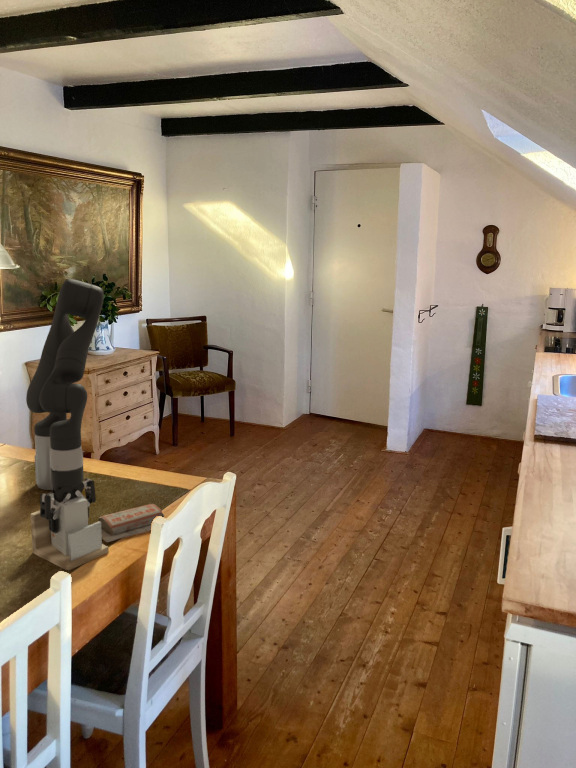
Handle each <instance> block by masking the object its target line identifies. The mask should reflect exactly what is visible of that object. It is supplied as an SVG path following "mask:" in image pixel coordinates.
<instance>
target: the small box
mask: <svg viewBox="0 0 576 768" xmlns="http://www.w3.org/2000/svg"><path fill="white" fill-rule="evenodd" d="M85 498H86V497H85ZM85 498H83V497H80V498H74V499H71V500H68V501H67V502H66V503H63V504H61V511H60V513H59V515H58V517H57V519H58V528H59V532H58V533H56V534H55V533H53V532H51V540H52V545H53V546H54V547H55V548H56V549H58V550H59V551H60V552H62V553H63V554H64V555H65V556H68V555H69V547H68V534H69V533H71V532H74V531H76V530H79V529H81V528H84V527H86V526H88V525H89V518H88V503H87V500H86V499H85ZM53 499H54V498H52V501H53ZM51 503H52V502H51ZM55 504H56V506H59V505H60V503H59V502H57V501H55ZM54 512H55V511H54Z"/></svg>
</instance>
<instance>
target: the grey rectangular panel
mask: <svg viewBox="0 0 576 768" xmlns="http://www.w3.org/2000/svg"><path fill="white" fill-rule="evenodd" d="M102 540H103V539H102V533H101V522H100V521H99V520H98V521H96V522H94V523H91V524H88V526H86V527H84V528H81V529H79V530H76V531H74V532H71V533H69V534H68V547H69V561H70V562H72V561H74V560H77V559H79V558H81V557H83V556H86V555H88V554H90V553H92V552H95V551H97V550H99V549H101V548H102V544H103V541H102Z"/></svg>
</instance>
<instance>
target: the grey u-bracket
mask: <svg viewBox="0 0 576 768" xmlns="http://www.w3.org/2000/svg"><path fill="white" fill-rule="evenodd" d="M30 528H31V544H32V545H31V546H32V554H34V555H36V556H37V557H39V558H41V559H44V560H45V561H48V562H50V563H52V564H53V565H55V566H57V567H60V568H61V569H63V570H65V571H67V570H68V571H70V570H73V569H75V568H77V567H79V566H81V565H84V564H86V563H89V562H91V561H93V560H95V559H96V558H99V557H101V556H104V555H106V554H108V553H109V552H110V551H109V546H108V545H105V544H104V543H102V548H101V549H99V550H97V551H95V552H92V553H90V554H88V555H86V556H83V557H81V558H79V559H77V560H74V561H72V562H70V561H69V555H68V556H65V555H64V554H63V553H62V552H60V551H59V550H58V549H56V548H55V547H54V546H53V545H52V540H51V531H50V530H49V520H47V519H45V518H43V517H41V516H40V510H37V511H35V512H32V513H30ZM68 571H67V572H68Z"/></svg>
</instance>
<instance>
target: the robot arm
mask: <svg viewBox="0 0 576 768" xmlns="http://www.w3.org/2000/svg"><path fill="white" fill-rule="evenodd" d="M104 295H105V294H104V290H103V289H102V288H101V287H99V286H98V285H95V284H91V283H88V282H85V281H81V280H79V279H78V280H77V279H74V278H68V279H66V280H64V282H63V283H62V284H61V287H60V290H59V292H58V296H57V301H56V304H55V309H54V314H53V318H52V322H51V325H50V328H49V331H48V333H47V336H46V339H45V342H44V345H43V348H42V351H41V356H40V358H39V362H38V365H37V368H36V369H35V370H36V371H35V373H34V375H33V377H32V379H31V380H30V383H29V384H28V387H27V391H26V397H25V399H26V406H27V408H28V410H29V411H30V412H32V413H35V414H43V413H49V414H48V415H47V416H46V417H44V418H43V419H40V420H39V421H37V423H35V424H34V430H33V433H34V443H35V444H34V445H35V446H34V448H35V450H34V451H35V455H34V468H35V469H34V470H35V484H36V485H37V487H38V489H40V490H45V491H51V492H48V493H44V492H42V493H40V496H39V506H40V507H39V509H40V510H39V511H40V516H41V517H43V518H45V519H47V520H49V530H50V531H51V532H53V533H55V534H56V533H58V532H59V528H58V519H57V517H58V515H59V513H60V511H61V504H63V503H66V502H67V501H68V500H71V499H74V498H80V497H83V498H85V499H86V500H87V503H88V519H90V506H91V504H92V503H93V504H94V503H96V500H97V497H96V487H95V481H94V480H92V479H90V478H85V477H84V472H85V471H84V452H83V448H82V447H83V446H82V421H83V417H84V414H85V413H84V412H85V409H86V406H87V402H88V392H87V389H86V388H85V387H84V385H82V384H80V383H78V382H79V381H81V380H82V379H83V378H84V375H85V370H86V364H87V358H88V354H89V349H90V345H91V343H92V340H93V337H94V334H95V331H96V329H97V328H96V327H97V326H98V322H99V318H100V317H101V312H102V308H103V304H104V298H105V297H104ZM69 315H71V316H74V317H77V318H82V319H85V320H84V322H83V323H82V325H81V326H79V327H78V328H77V329H76V330H74V329H73V326H72V324H71V322H70V319H69ZM67 414H70V417H69V418H67V417H68V416H67ZM83 491H84V493H85V495H83V494H82V493H83ZM52 498H54V499H53V501H52ZM55 501H57V502H59V503H60V505H59V506H56V504H55ZM51 502H52V503H51ZM54 511H55V512H54Z"/></svg>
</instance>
